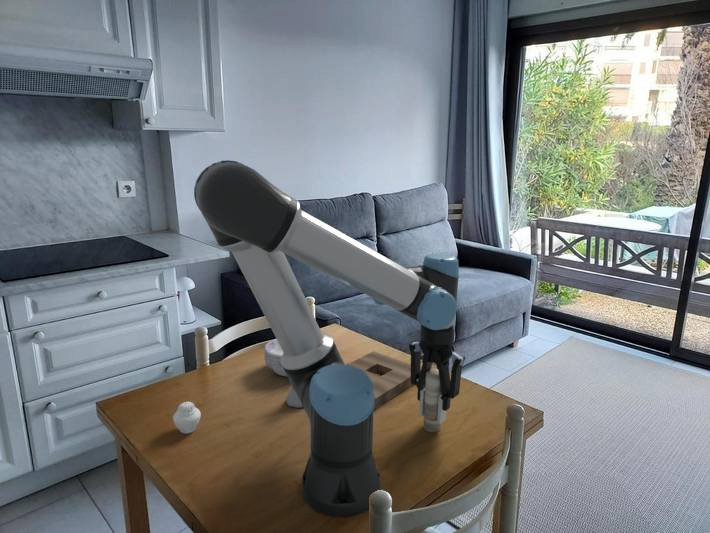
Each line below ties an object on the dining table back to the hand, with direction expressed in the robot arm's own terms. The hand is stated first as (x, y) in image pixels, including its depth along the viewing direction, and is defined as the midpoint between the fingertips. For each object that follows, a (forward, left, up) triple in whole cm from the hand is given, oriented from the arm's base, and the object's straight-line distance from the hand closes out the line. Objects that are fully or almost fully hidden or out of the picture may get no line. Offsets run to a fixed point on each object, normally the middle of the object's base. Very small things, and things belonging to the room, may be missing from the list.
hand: (432, 417), depth 116 cm
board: (+8, +24, -3) cm, 25 cm away
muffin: (-38, +42, -3) cm, 57 cm away
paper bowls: (-1, +47, -3) cm, 47 cm away
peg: (0, 0, -3) cm, 3 cm away
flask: (-12, +32, -3) cm, 34 cm away
